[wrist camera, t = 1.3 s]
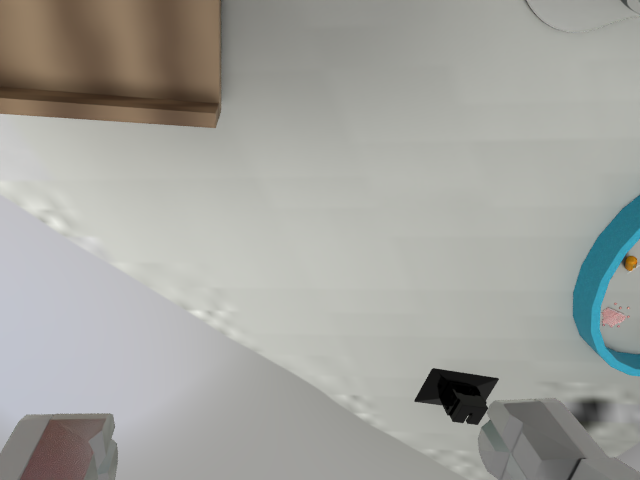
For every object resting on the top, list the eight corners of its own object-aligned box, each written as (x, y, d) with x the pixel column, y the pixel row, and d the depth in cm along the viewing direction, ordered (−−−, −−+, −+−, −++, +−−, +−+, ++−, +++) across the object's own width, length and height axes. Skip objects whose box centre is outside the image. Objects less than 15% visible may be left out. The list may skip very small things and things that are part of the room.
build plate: (401, 399, 60) (413, 429, 56) (424, 357, 57) (438, 385, 53) (483, 411, 64) (499, 440, 59) (508, 371, 61) (528, 399, 56)
